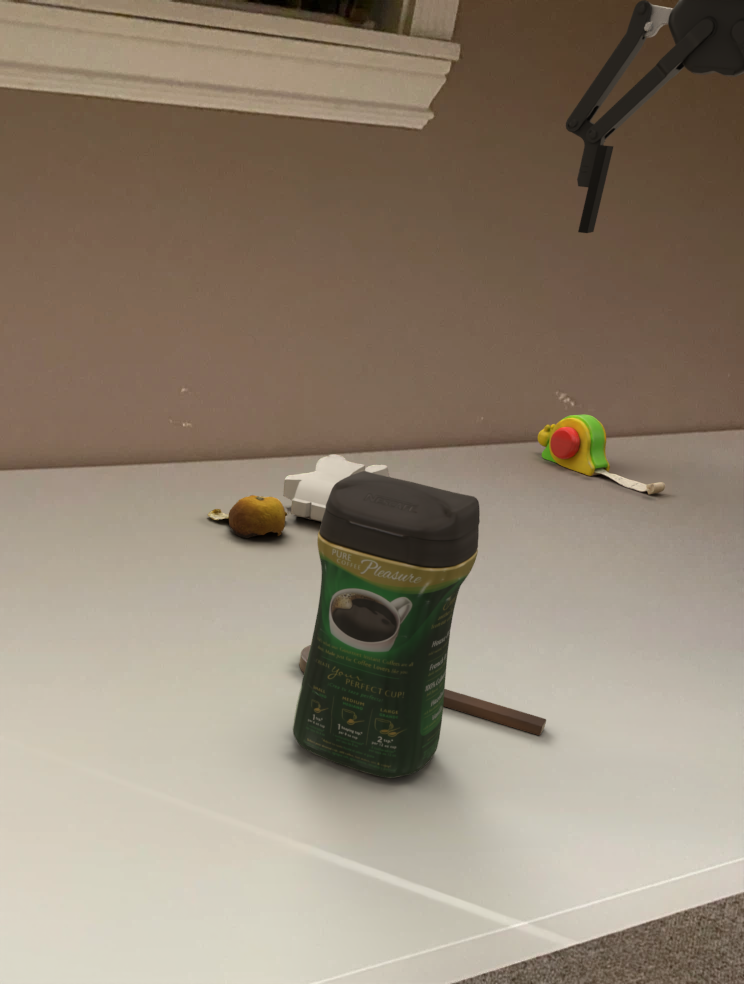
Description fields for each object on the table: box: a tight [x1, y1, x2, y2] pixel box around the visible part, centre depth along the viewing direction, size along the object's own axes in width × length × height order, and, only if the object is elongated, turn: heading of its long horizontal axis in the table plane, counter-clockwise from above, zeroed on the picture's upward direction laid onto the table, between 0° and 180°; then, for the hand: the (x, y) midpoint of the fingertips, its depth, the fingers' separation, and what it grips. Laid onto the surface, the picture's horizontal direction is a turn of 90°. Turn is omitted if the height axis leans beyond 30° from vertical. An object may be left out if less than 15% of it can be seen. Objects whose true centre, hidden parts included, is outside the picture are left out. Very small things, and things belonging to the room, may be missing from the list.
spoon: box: [298, 644, 547, 736], centre depth 83 cm, size 19×5×1 cm, turn 61°
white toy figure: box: [282, 453, 391, 523], centre depth 120 cm, size 10×5×15 cm
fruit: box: [207, 494, 288, 539], centre depth 112 cm, size 8×8×4 cm
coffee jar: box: [292, 471, 481, 779], centre depth 71 cm, size 10×8×19 cm
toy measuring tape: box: [537, 414, 666, 495], centre depth 141 cm, size 6×20×7 cm, turn 34°
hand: (668, 243), depth 90 cm, fingers open, 13 cm apart
